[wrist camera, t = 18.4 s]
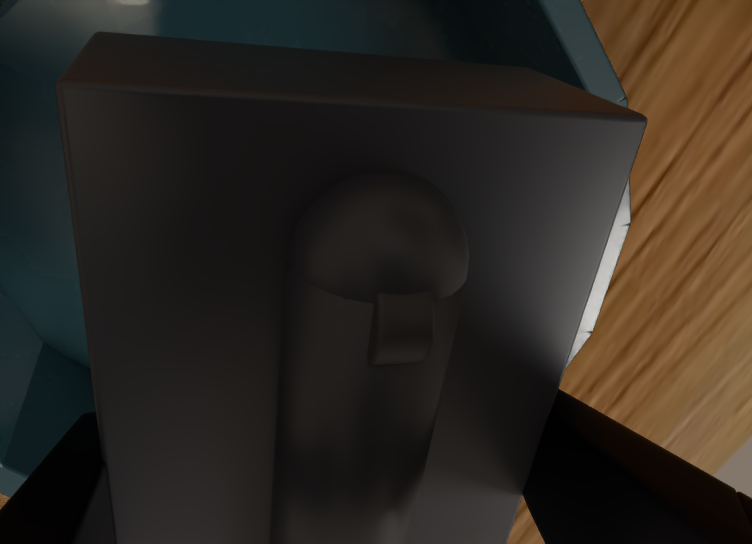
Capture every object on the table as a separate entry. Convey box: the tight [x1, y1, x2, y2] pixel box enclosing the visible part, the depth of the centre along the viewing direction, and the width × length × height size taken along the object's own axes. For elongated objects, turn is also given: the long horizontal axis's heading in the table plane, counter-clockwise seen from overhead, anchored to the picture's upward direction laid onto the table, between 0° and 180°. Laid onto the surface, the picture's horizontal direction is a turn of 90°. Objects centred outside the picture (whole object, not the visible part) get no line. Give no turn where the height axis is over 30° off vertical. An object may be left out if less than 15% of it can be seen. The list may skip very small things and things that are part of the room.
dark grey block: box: [55, 31, 647, 544], centre depth 9 cm, size 6×10×4 cm, turn 172°
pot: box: [0, 0, 631, 498], centre depth 14 cm, size 15×21×5 cm
